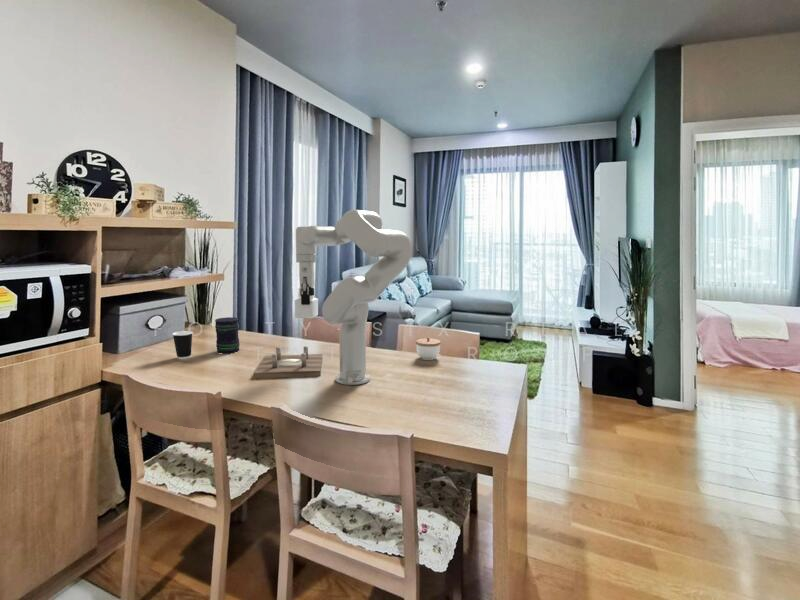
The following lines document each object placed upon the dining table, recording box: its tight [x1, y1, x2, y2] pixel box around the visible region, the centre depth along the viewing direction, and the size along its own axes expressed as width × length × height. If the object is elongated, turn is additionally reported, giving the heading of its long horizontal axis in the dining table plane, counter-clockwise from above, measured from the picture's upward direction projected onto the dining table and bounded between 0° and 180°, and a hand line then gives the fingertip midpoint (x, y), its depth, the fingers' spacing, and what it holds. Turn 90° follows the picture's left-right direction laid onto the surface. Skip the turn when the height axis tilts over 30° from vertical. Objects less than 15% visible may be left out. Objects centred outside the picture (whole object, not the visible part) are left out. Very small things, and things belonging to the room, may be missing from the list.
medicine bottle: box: [294, 286, 319, 319], centre depth 167 cm, size 7×7×12 cm
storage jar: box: [214, 316, 240, 355], centre depth 192 cm, size 10×10×15 cm
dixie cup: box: [172, 330, 194, 360], centre depth 181 cm, size 8×8×11 cm
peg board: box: [253, 345, 323, 379], centre depth 168 cm, size 24×24×7 cm
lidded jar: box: [415, 336, 442, 361], centre depth 184 cm, size 11×11×9 cm
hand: (306, 302), depth 167 cm, fingers closed on medicine bottle, 8 cm apart
